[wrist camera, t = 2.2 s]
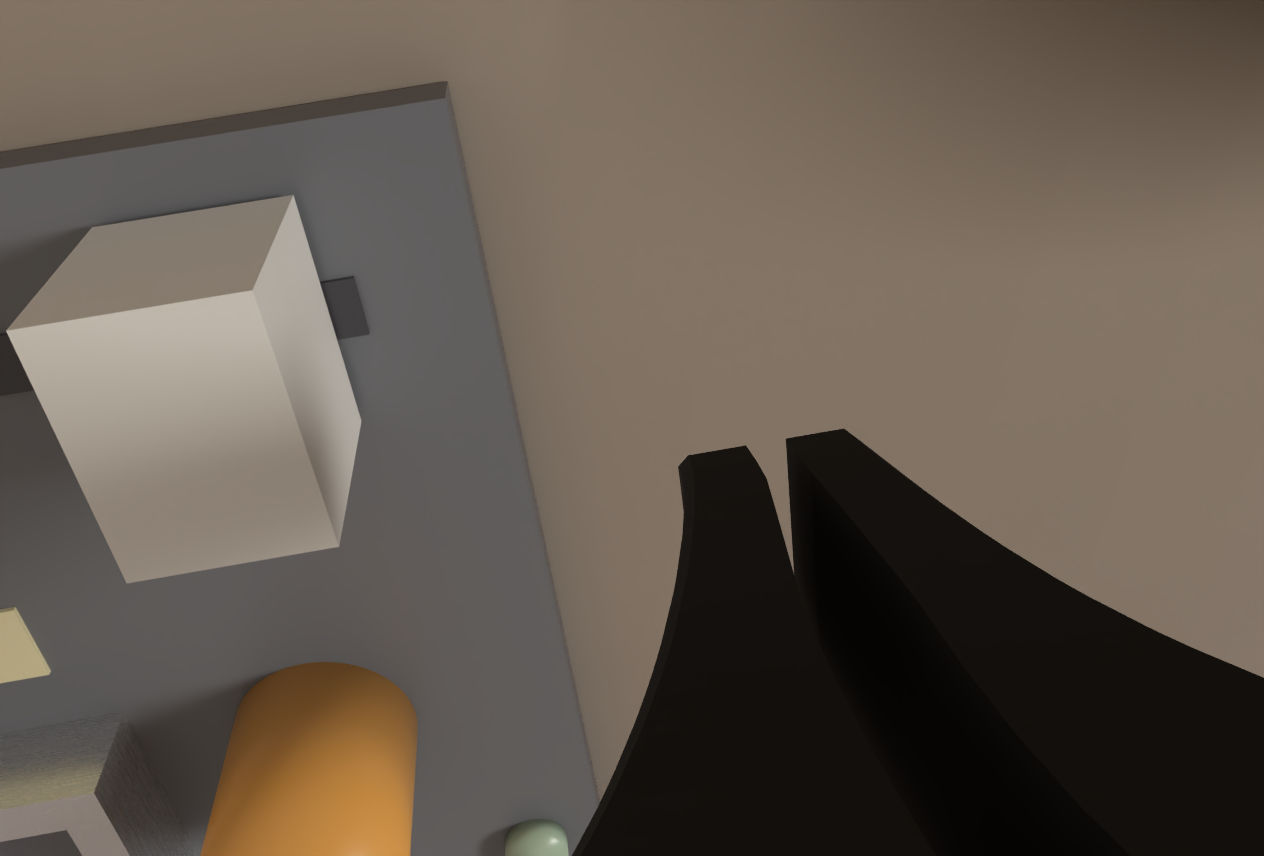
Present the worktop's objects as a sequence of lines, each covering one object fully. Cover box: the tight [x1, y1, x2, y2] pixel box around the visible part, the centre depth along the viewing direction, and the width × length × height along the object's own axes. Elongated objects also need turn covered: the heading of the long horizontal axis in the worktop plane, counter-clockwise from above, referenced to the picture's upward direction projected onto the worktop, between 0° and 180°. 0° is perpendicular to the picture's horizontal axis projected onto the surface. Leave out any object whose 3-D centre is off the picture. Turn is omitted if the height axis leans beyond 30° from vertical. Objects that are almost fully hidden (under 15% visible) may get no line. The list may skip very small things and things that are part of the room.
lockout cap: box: [200, 662, 418, 856], centre depth 20 cm, size 4×4×5 cm
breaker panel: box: [0, 81, 600, 856], centre depth 21 cm, size 16×18×2 cm
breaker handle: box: [6, 195, 361, 583], centre depth 16 cm, size 3×4×4 cm
